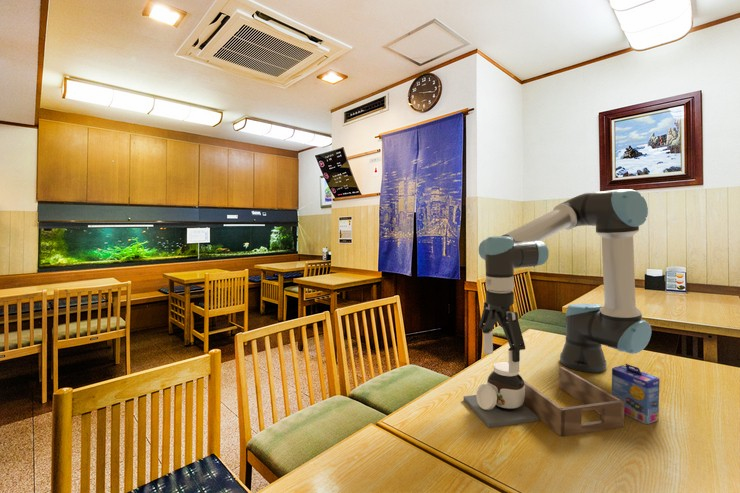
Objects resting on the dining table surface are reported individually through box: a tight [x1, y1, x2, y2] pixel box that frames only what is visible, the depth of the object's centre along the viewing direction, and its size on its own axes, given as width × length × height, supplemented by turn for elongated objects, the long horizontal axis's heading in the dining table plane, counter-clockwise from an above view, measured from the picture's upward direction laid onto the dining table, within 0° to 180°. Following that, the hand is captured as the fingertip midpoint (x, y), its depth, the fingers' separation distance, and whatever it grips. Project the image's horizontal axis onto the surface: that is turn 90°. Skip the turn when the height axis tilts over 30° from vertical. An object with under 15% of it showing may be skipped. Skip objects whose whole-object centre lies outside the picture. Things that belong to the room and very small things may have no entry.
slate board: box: [463, 394, 539, 429], centre depth 104 cm, size 15×15×1 cm
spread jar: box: [475, 361, 525, 411], centre depth 103 cm, size 12×11×12 cm
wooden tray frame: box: [523, 366, 625, 437], centre depth 103 cm, size 23×19×7 cm
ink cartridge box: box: [611, 363, 660, 425], centre depth 100 cm, size 10×6×14 cm, turn 23°
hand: (500, 362), depth 103 cm, fingers open, 13 cm apart
